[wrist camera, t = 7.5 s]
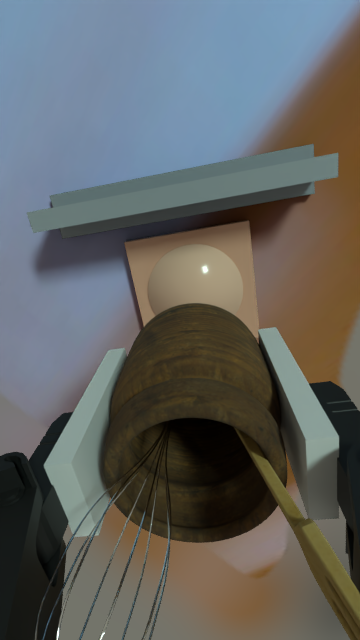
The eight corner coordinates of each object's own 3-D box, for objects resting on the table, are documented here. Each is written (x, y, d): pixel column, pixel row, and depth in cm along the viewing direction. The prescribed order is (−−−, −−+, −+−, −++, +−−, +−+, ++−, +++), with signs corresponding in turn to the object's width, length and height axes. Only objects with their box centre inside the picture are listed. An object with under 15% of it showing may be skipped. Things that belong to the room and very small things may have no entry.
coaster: (126, 241, 24) (123, 242, 23) (247, 219, 23) (249, 220, 22) (151, 347, 27) (149, 352, 27) (258, 332, 26) (260, 337, 26)
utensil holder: (112, 320, 15) (-156, 724, 4) (248, 278, 14) (471, 665, 3) (157, 421, 17) (75, 884, 6) (278, 391, 16) (478, 889, 4)
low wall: (53, 195, 23) (21, 196, 19) (310, 145, 21) (338, 134, 17) (65, 237, 24) (38, 247, 20) (311, 193, 22) (338, 194, 18)
